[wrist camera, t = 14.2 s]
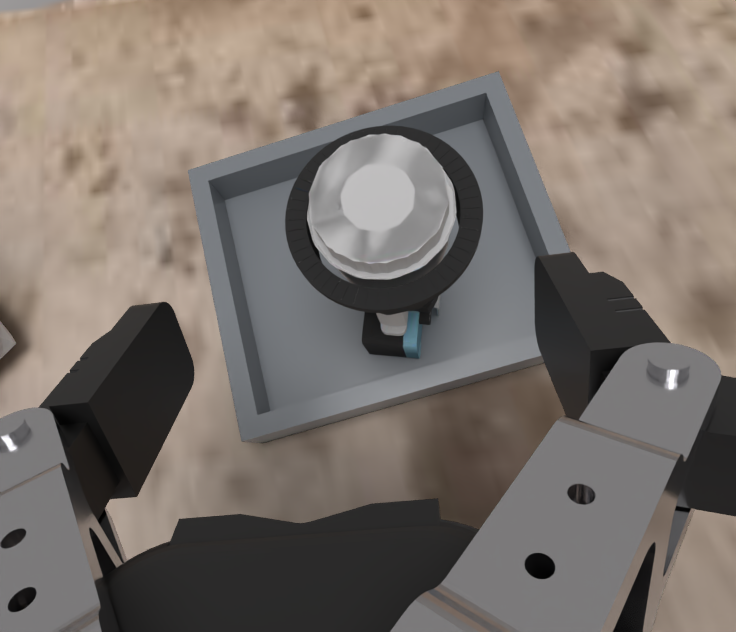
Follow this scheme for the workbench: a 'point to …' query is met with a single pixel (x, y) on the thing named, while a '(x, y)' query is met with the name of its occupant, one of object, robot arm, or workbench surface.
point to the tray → (331, 320)
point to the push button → (385, 229)
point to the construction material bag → (5, 340)
